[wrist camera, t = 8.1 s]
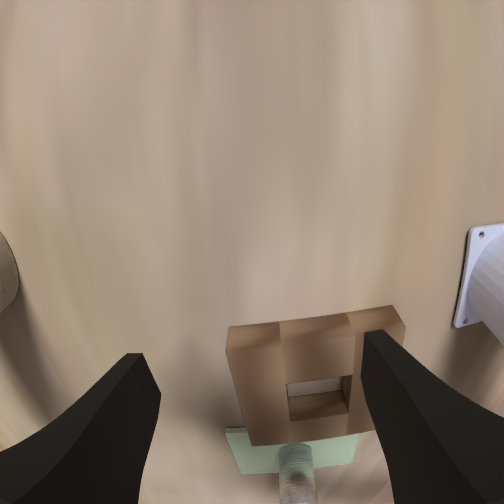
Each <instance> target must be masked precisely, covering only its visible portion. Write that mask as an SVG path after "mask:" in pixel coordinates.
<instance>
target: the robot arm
mask: <svg viewBox="0 0 504 504" xmlns="http://www.w3.org/2000/svg"><path fill="white" fill-rule="evenodd" d="M480 232H481V235H480V236H479V234H480ZM481 321H483V323H484V324H485V325H486V326H487V327H488V328H489V330H490V331H491V332H492V333H493V334H494V336H495V337H496V338H497V339H498V340H499V342H500V343H501V344H502V345H503V347H504V223H501V224H493V225H486V226H478V227H473V228H472V229H471V230H470V231H469V234H468V243H467V251H466V258H465V265H464V271H463V277H462V283H461V289H460V294H459V299H458V304H457V308H456V313H455V317H454V321H453V324H454V326H455V327H456V328H460V327H463V326H467V325H470V324H474V323H477V322H481ZM360 378H361V382H362V387H363V391H364V395H365V400H366V404H367V407H368V409H369V412H370V415H371V418H372V421H373V423H374V426H375V429H376V432H377V435H378V438H379V440H380V443H381V446H382V449H383V452H384V455H385V458H386V462H387V465H388V470H389V475H390V480H391V485H392V491H393V497H394V503H395V504H504V418H503V417H501V416H499V415H497V414H495V413H493V412H491V411H489V410H487V409H485V408H483V407H481V406H479V405H478V404H476V403H474V402H473V401H471V400H469V399H468V398H466V397H465V396H463V395H461V394H460V393H458V392H457V391H455V390H454V389H453V388H451V387H450V386H448V385H447V384H446V383H444V382H443V381H442V380H440V379H439V378H438V377H436V376H435V375H434V374H433V373H432V372H430V371H429V370H428V369H427V368H426V367H424V366H423V365H422V364H421V363H420V362H419V361H417V360H416V359H415V358H414V357H413V356H412V355H411V354H409V353H408V352H407V351H406V350H405V349H404V348H403V347H402V346H401V345H400V344H399V343H397V342H396V341H395V340H394V339H393V338H392V337H391V336H390V335H389V334H388V333H387V332H385V331H384V330H383V329H380V330H374V331H369V332H364V345H363V356H362V366H361V375H360ZM160 400H161V392H160V390H159V388H158V386H157V384H156V382H155V380H154V378H153V376H152V373H151V371H150V369H149V367H148V365H147V362H146V360H145V358H144V356H143V353H127V354H126V355H125V356H123V357H122V358H121V359H120V360H119V361H118V362H117V363H116V364H115V365H114V366H113V367H112V368H111V369H110V370H109V371H108V372H107V373H106V374H105V375H104V376H103V377H102V378H101V379H100V380H99V381H97V382H96V383H95V384H94V385H93V386H92V387H91V388H90V389H89V390H88V391H87V392H86V393H85V394H84V395H83V396H82V397H81V398H80V399H78V400H77V401H76V402H75V403H74V404H73V405H72V406H71V407H69V408H68V409H67V410H66V411H65V412H64V413H62V414H61V415H60V416H59V417H57V418H56V419H55V420H54V421H52V422H51V423H49V424H48V425H47V426H45V427H44V428H42V429H41V430H40V431H38V432H36V433H35V434H33V435H31V436H30V437H28V438H26V439H25V440H23V441H21V442H20V443H18V444H16V445H14V446H12V447H10V448H8V449H6V450H3V451H1V452H0V504H138V499H139V491H140V484H141V478H142V474H143V469H144V466H145V462H146V459H147V455H148V451H149V448H150V445H151V441H152V438H153V434H154V431H155V427H156V423H157V420H158V414H159V407H160Z"/></svg>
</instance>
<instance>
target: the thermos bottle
mask: <svg viewBox="0 0 504 504" xmlns="http://www.w3.org/2000/svg"><path fill="white" fill-rule="evenodd" d="M18 286H19V278H18V271H17V266H16V263H15V259H14V256H13V254H12V252H11V249H10V247H9V245H8V244H7V242H6V240H5V238H4V237H3V235H2V234H1V233H0V313H1V312H2V311H3V310H4V309H5V308H6V307H7V306H8V305H9V304H10V303H12V301H13V300H14V299H15V297H16V295H17V292H18Z"/></svg>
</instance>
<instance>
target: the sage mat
mask: <svg viewBox="0 0 504 504" xmlns="http://www.w3.org/2000/svg"><path fill="white" fill-rule="evenodd" d="M358 434H359V433H357V434H352V435H347V436H341V437H335V438H329V439H323V440H316V441H308V442H300V443H305V444H308V445H309V446H311V448H312V457H313V466H314V469H318V468H324V467H331V466H337V465H343V464H348V463H352V462H353V458H354V453H355V448H356V444H357V439H358ZM225 435H226V438H227V440H228V443H229V445H230V448H231V450H232V453H233V455H234V457H235V460H236V462H237V465H238V467H239V469H240V472H241V474H242V475H247V474H268V473H279V462H278V450H279V449H280V448H281V447H282V446H284V445H287V444H280V445H268V446H251V442H250V439H249V435H248V432H247V429H246V427H240V428H225Z"/></svg>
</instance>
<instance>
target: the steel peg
mask: <svg viewBox="0 0 504 504" xmlns="http://www.w3.org/2000/svg"><path fill="white" fill-rule="evenodd" d="M278 462H279V494H280V504H318V503H317V493H316V484H315V475H314V466H313V457H312V448H311V446H309V445H308V444H305V443H291V444H287V445H284V446H282V447H281V448H280V449H279V450H278Z"/></svg>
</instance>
